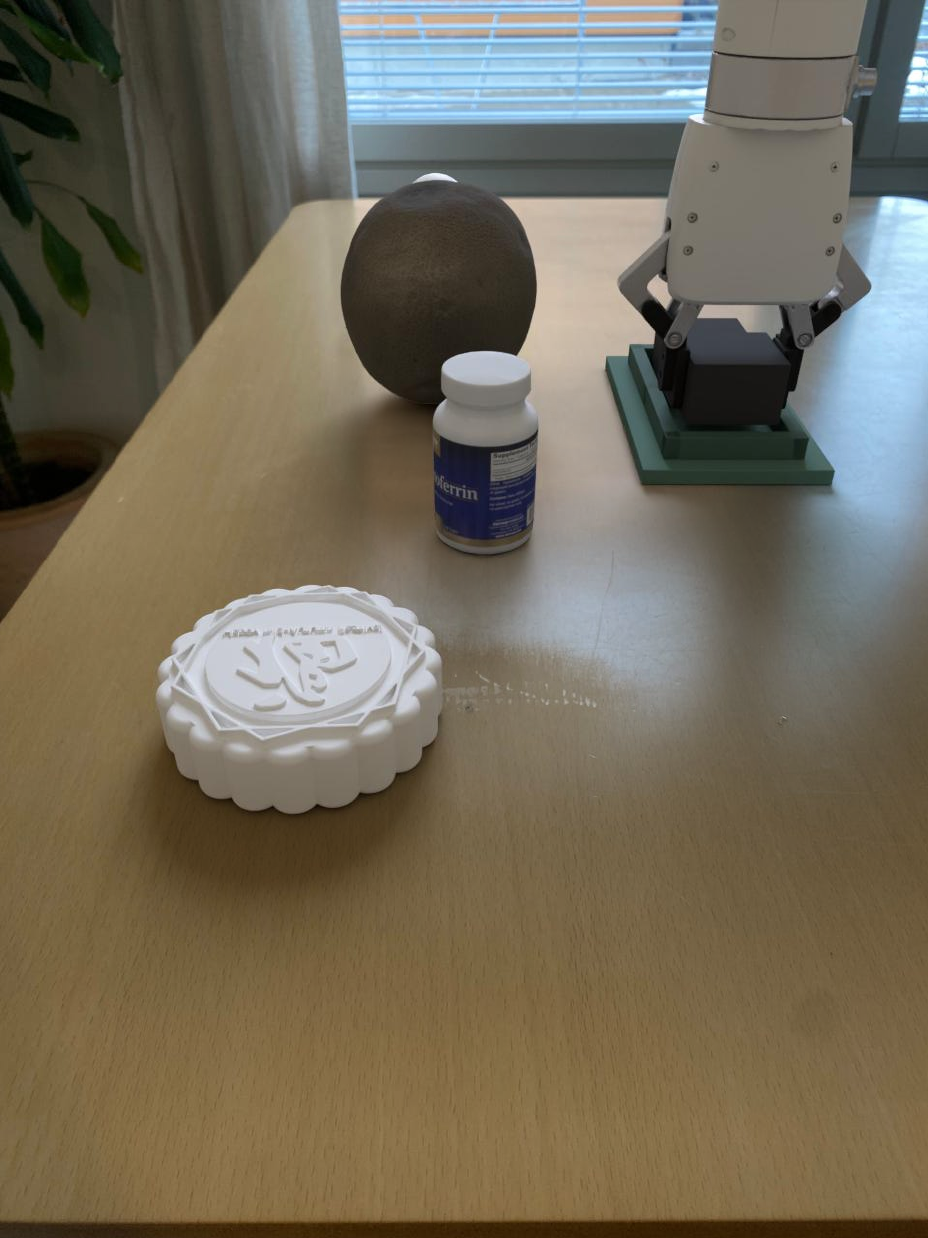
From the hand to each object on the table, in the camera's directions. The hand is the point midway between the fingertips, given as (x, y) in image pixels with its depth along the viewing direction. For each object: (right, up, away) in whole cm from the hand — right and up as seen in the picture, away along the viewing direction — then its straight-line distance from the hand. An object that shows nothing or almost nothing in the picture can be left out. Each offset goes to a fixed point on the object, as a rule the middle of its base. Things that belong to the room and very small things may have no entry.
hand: (723, 398), depth 62 cm
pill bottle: (-16, -10, -8) cm, 20 cm away
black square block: (0, +3, +8) cm, 8 cm away
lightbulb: (-20, +16, +28) cm, 38 cm away
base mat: (0, 0, +5) cm, 5 cm away
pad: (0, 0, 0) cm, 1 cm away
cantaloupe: (-19, +1, +8) cm, 20 cm away
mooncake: (-24, -19, -21) cm, 37 cm away
